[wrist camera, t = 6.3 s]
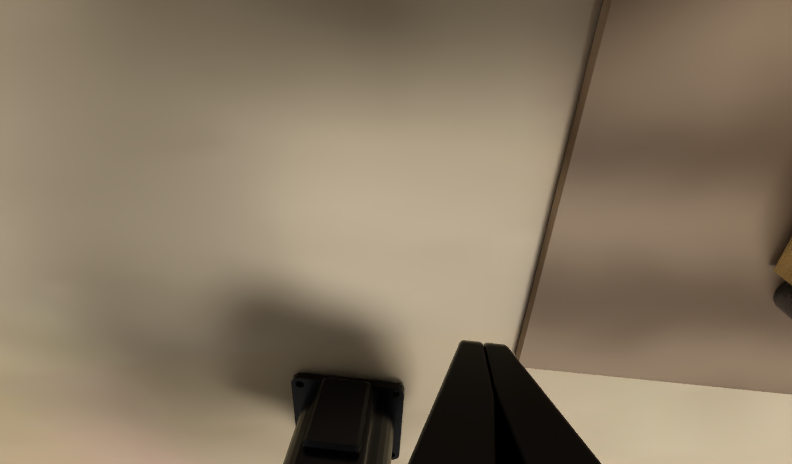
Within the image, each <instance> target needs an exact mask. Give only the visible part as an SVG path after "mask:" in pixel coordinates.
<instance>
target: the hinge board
mask: <svg viewBox="0 0 792 464" xmlns="http://www.w3.org/2000/svg"><path fill="white" fill-rule="evenodd" d="M791 237H792V0H603V4H602V8H601V12H600V16H599V20H598V24H597V28H596V32H595V36H594V40H593V44H592V48H591V52H590V56H589V60H588V64H587V68H586V72H585V76H584V80H583V84H582V88H581V92H580V96H579V100H578V104H577V108H576V113H575V117H574V121H573V125H572V129H571V133H570V137H569V141H568V145H567V149H566V153H565V157H564V161H563V165H562V169H561V173H560V177H559V181H558V185H557V189H556V193H555V197H554V201H553V205H552V209H551V213H550V217H549V221H548V225H547V229H546V233H545V238H544V242H543V246H542V250H541V254H540V258H539V262H538V266H537V270H536V274H535V278H534V282H533V286H532V290H531V294H530V298H529V302H528V306H527V310H526V314H525V318H524V322H523V326H522V330H521V334H520V338H519V342H518V346H517V350H516V354H515V357H516V358H517V359H518V360H519V362H520V363H521V364H522V365H523V367H524V368H533V369H543V370H553V371H563V372H573V373H583V374H593V375H603V376H613V377H623V378H633V379H643V380H653V381H663V382H673V383H683V384H693V385H703V386H713V387H723V388H733V389H742V390H752V391H762V392H772V393H782V394H792V320H791V319H790V318H789V317H788V316H787V315H786V314H785V313H783V312H782V311H781V310H780V309H779V308H778V307H777V306H776V305H775V304H774V301H773V296H774V293H775V291H776V289H777V288H778V287H779V286H780V285H781V284H782V283H783V282H785V280H784V279H783V278H782V277H780V276H779V275H778V274H777V273H775V272H774V271H773V270H774V268H775V267H776V265H777V263H778V261H779V259H780V257H781V255H782V254H783V252H784V250H785V248H786V246H787V244H788V243H789V241H790V239H791Z"/></svg>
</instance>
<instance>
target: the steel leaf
mask: <svg viewBox="0 0 792 464" xmlns="http://www.w3.org/2000/svg"><path fill="white" fill-rule="evenodd" d="M773 301H774V304H775V305H776V306H777V307H778V308H779V309H780V310H781V311H782V312H783V313H785V314H786V315H787V316H788V317H789V318H790V319H791V320H792V285H791V284H789V283H788V282H787V281H785V282H783V283H782V284H781V285H780V286H779V287H778V288H777V289H776V291H775V293H774V296H773Z"/></svg>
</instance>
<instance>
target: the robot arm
mask: <svg viewBox="0 0 792 464" xmlns="http://www.w3.org/2000/svg"><path fill="white" fill-rule="evenodd" d="M300 381H301V382H300ZM291 385H292V394H293V404H294V413H295V423H296V428H295V431H294V433H293V436H292V439H291V442H290V445H289V448H288V451H287V454H286V457H285V460H284V463H283V464H391V460H394V459H397V458H398V457H399V451H400V438H401V426H402V413H403V401H404V387H403V386H402V385H401V384H399V383H395V382H385V381H375V380H366V379H356V378H347V377H337V376H328V375H318V374H308V373H297V374H295V375H294V377H293V379H292V383H291ZM394 391H396V392H394ZM408 464H601V463H600V462H599V460H598V459H597V458H596V457H595V455H594V454H593V453H592V452H591V450H590V449H589V448H588V447H587V445H586V444H585V443H584V442H583V440H582V439H581V438H580V437H579V435H578V434H577V433H576V432H575V430H574V429H573V428H572V427H571V425H570V424H569V423H568V422H567V420H566V419H565V418H564V417H563V415H562V414H561V413H560V412H559V410H558V409H557V408H556V407H555V405H554V404H553V403H552V402H551V400H550V399H549V398H548V397H547V395H546V394H545V393H544V392H543V390H542V389H541V388H540V387H539V385H538V384H537V383H536V382H535V380H534V379H533V378H532V377H531V375H530V374H529V373H528V372H527V370H526V369H525V368H524V367H523V365H522V364H521V363H520V362H519V360H518V359H517V358H516V357H515V355H514V354H513V353H512V352H511V350H510V349H509V348H508V347H507V346H506V345H503V344H494V343H485V344H484V345H483V344H482V343H481V342H475V341H466V340H463V341H461V342H460V343H459V346H458V348H457V350H456V353H455V355H454V357H453V360H452V362H451V364H450V367H449V369H448V371H447V374H446V376H445V378H444V381H443V383H442V386H441V388H440V390H439V393H438V395H437V397H436V400H435V402H434V404H433V407H432V409H431V411H430V414H429V416H428V418H427V421H426V423H425V425H424V428H423V430H422V432H421V435H420V437H419V439H418V442H417V444H416V446H415V449H414V451H413V453H412V456H411V458H410V460H409V463H408Z"/></svg>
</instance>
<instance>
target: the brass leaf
mask: <svg viewBox="0 0 792 464" xmlns="http://www.w3.org/2000/svg"><path fill="white" fill-rule="evenodd" d="M773 271H774V272H775V273H777V274H778V275H779V276H780V277H782V278H783V279H784V280H785V281H787V282H788V283H789V284H791V285H792V237H791V239H790V241H789V243H788V244H787V246H786V248H785V250H784V252H783V254H782V255H781V257H780V259H779V261H778V263H777V265H776V267H775V268H774V270H773Z"/></svg>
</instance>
